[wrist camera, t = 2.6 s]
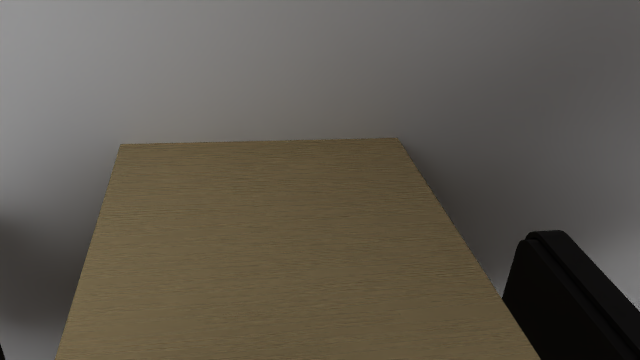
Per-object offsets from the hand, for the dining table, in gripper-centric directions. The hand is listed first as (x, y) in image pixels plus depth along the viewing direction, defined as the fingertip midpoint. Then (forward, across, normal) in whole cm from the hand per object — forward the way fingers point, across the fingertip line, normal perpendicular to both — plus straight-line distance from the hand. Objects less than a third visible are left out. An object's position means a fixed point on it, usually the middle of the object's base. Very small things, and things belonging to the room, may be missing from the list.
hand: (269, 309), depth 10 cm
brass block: (+2, 0, 0) cm, 2 cm away
